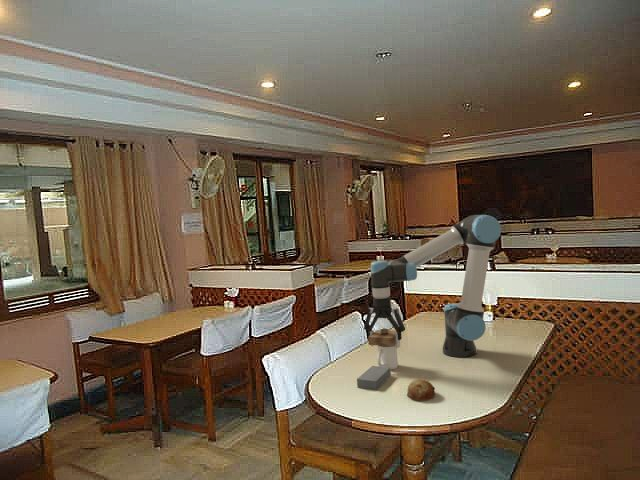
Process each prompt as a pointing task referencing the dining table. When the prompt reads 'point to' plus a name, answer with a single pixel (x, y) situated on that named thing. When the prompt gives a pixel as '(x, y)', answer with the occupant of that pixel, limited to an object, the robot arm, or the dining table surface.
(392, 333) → the lid
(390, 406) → the dining table surface
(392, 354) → the mug
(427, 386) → the bread roll
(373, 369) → the grey flat block
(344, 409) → the dining table surface
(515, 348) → the dining table surface
